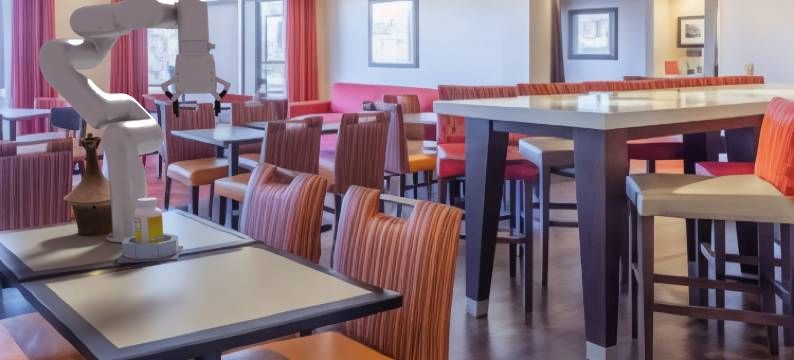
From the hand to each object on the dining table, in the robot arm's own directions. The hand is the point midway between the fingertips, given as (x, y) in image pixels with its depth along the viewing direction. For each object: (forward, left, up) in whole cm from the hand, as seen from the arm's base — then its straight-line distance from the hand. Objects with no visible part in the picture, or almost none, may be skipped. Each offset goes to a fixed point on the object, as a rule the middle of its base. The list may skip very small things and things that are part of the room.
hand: (197, 116), depth 209 cm
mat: (+9, -12, -33) cm, 37 cm away
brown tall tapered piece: (-22, -31, -34) cm, 51 cm away
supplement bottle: (+9, -12, -32) cm, 36 cm away
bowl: (+9, -12, -33) cm, 36 cm away
